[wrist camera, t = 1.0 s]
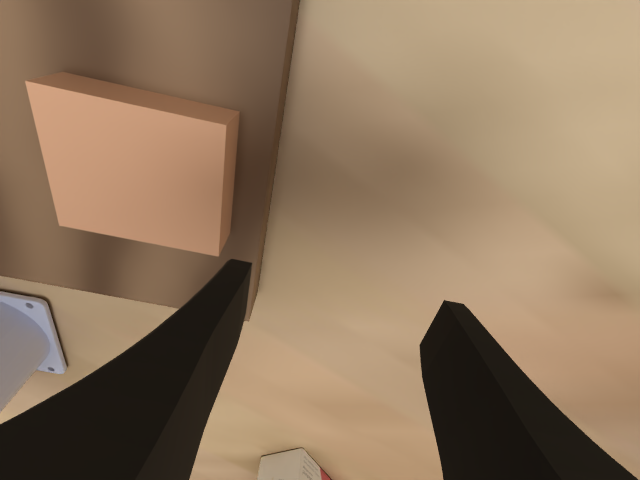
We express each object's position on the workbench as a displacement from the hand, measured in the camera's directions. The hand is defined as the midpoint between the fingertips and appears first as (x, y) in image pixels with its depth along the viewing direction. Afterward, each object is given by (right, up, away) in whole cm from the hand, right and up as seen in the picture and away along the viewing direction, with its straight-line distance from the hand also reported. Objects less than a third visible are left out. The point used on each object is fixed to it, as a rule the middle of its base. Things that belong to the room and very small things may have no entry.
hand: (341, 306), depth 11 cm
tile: (-8, +5, +5) cm, 11 cm away
